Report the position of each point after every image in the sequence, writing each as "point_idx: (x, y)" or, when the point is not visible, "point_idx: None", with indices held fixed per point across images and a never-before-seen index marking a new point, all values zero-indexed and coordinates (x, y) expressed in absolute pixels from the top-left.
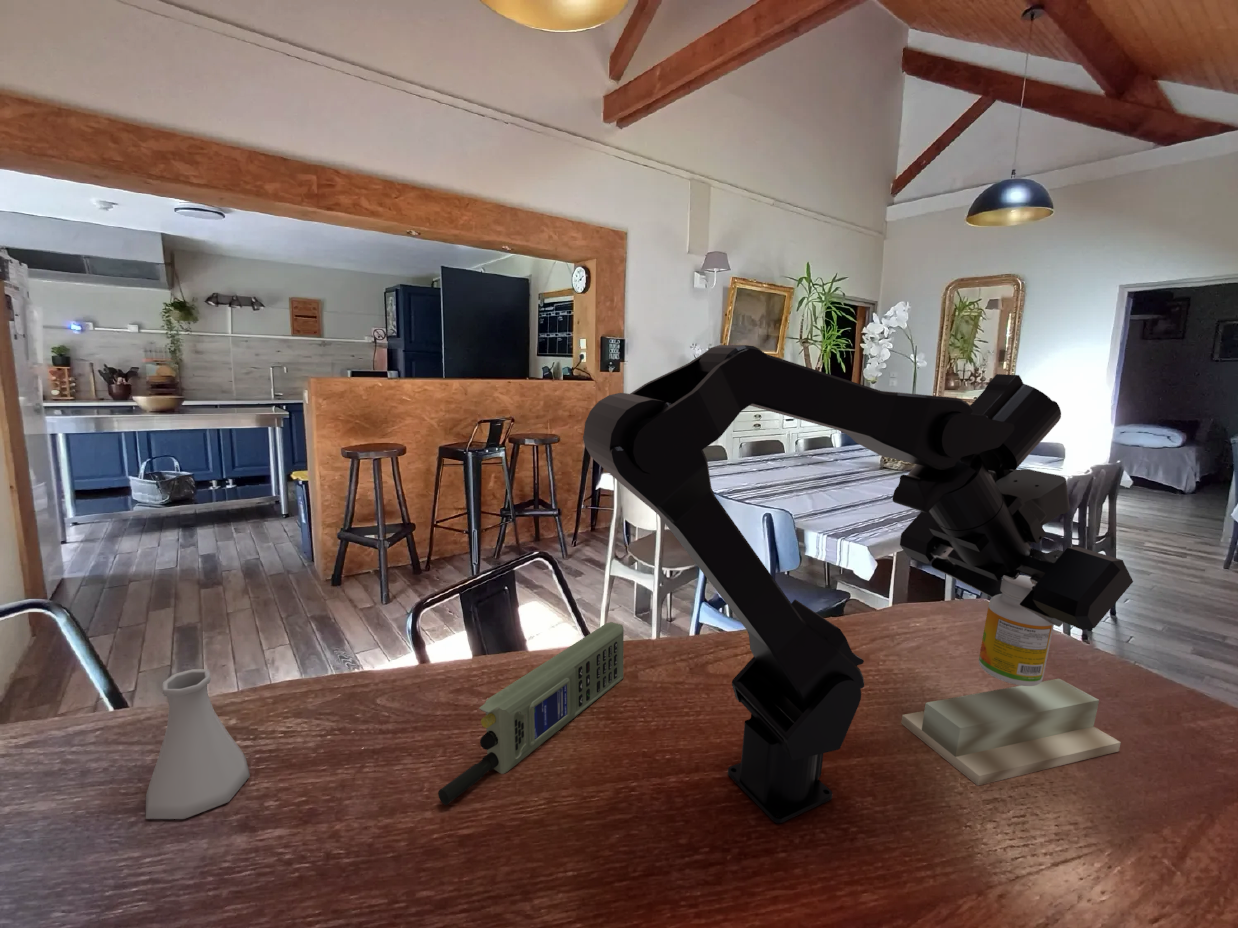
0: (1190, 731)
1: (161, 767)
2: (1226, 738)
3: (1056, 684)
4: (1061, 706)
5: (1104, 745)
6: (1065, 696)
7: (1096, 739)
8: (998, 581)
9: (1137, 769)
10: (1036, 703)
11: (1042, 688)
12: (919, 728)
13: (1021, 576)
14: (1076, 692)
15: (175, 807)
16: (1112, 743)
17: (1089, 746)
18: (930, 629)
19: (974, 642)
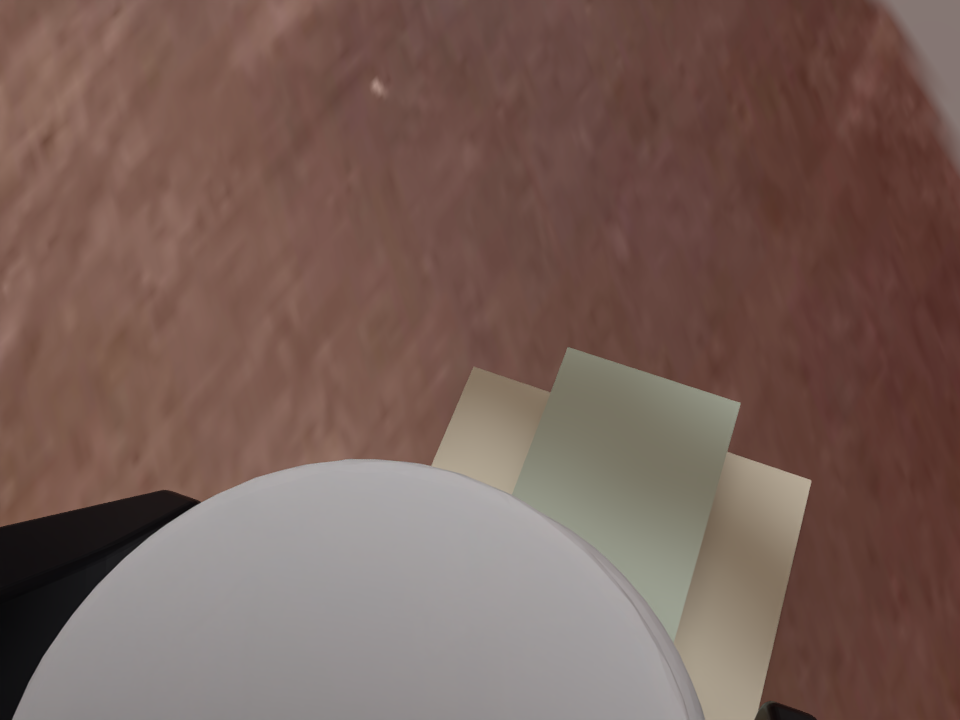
0: (867, 158)
1: None
2: (937, 116)
3: (580, 414)
4: (672, 626)
5: (788, 560)
6: (645, 501)
7: (756, 542)
8: (14, 645)
9: (880, 561)
10: None
11: (555, 514)
12: None
13: (215, 576)
14: (659, 417)
15: None
16: (799, 518)
17: (762, 626)
18: (37, 159)
19: (199, 127)
